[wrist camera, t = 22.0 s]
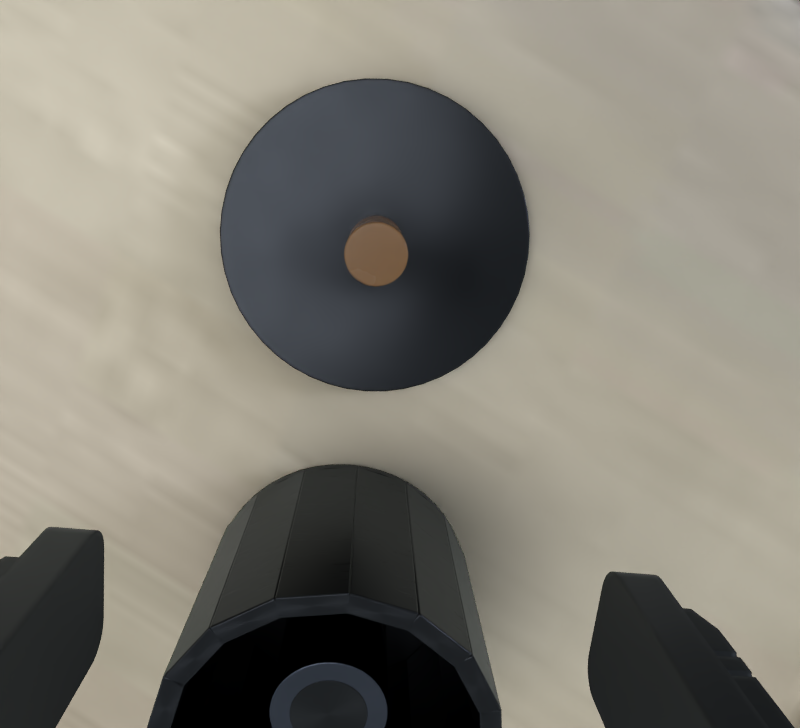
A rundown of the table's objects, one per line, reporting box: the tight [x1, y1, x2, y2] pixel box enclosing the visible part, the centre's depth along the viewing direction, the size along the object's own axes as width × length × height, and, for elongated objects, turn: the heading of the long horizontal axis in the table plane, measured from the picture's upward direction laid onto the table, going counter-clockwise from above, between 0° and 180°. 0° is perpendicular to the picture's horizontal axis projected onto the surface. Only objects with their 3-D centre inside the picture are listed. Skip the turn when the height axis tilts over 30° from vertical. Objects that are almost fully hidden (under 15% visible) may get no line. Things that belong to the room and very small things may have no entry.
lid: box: [220, 79, 530, 391], centre depth 30 cm, size 14×14×6 cm
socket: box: [269, 614, 388, 728], centre depth 32 cm, size 5×5×9 cm
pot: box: [147, 465, 502, 728], centre depth 31 cm, size 13×13×12 cm
